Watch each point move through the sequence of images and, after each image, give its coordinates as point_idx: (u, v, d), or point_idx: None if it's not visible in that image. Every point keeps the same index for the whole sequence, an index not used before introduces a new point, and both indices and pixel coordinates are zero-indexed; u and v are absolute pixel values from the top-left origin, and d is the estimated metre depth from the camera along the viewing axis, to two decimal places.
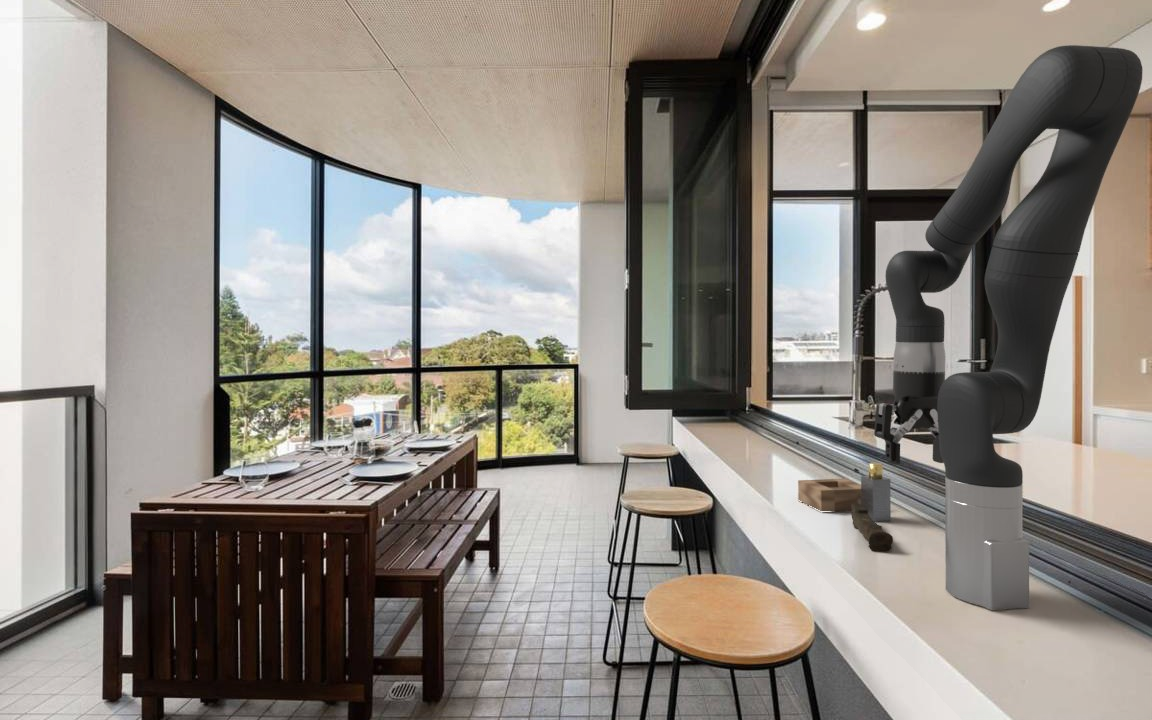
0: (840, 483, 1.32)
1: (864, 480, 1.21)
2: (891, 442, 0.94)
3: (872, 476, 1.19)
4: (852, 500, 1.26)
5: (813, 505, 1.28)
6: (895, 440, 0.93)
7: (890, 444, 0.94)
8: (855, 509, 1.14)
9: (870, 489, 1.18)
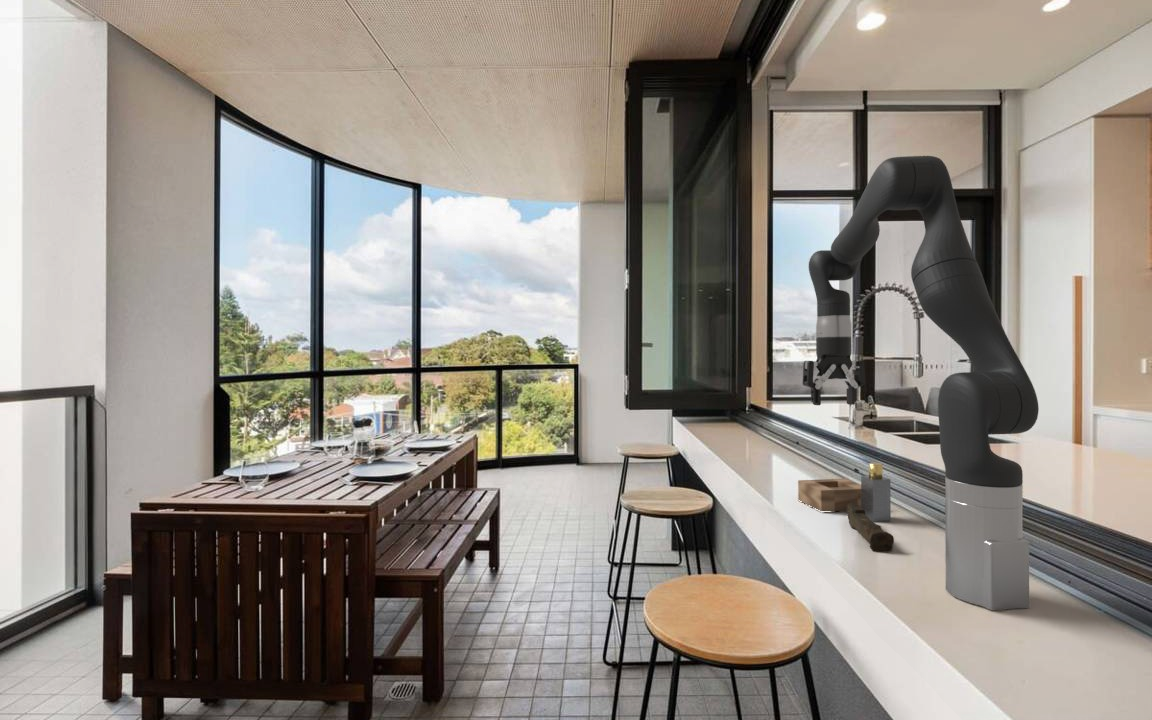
0: (840, 483, 1.32)
1: (864, 480, 1.21)
2: (814, 389, 1.28)
3: (872, 476, 1.19)
4: (852, 500, 1.26)
5: (813, 505, 1.28)
6: (816, 387, 1.28)
7: (813, 390, 1.29)
8: (852, 509, 1.14)
9: (870, 489, 1.18)
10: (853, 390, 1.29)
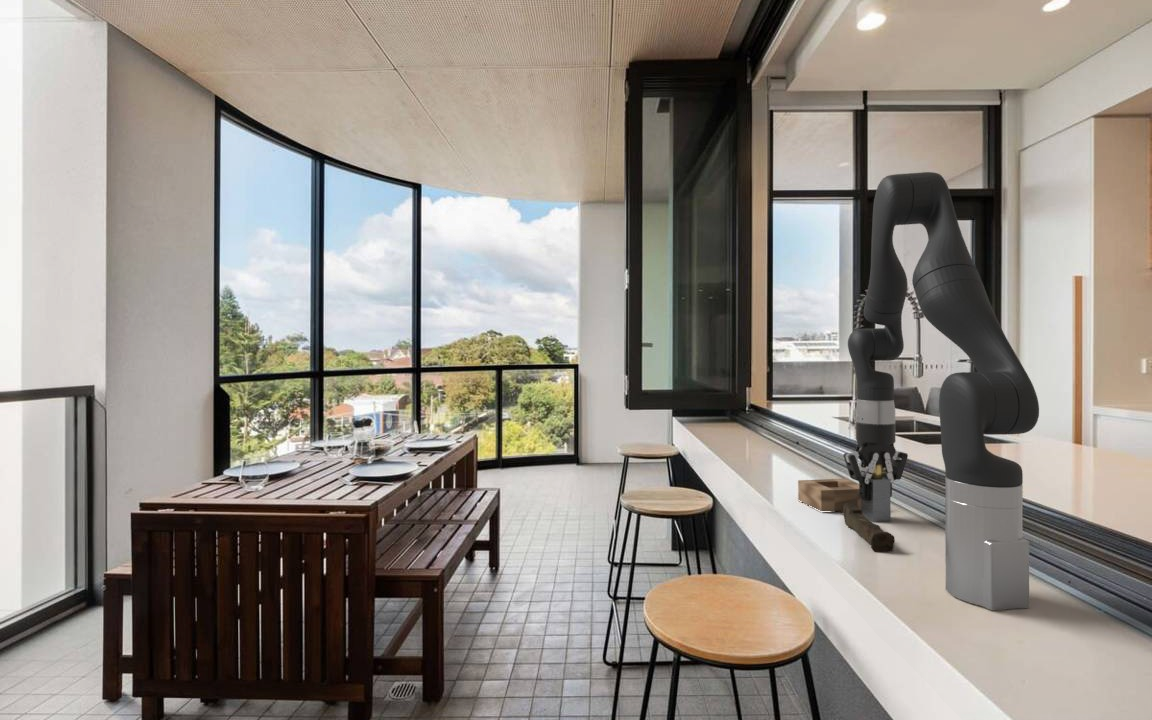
0: (840, 483, 1.32)
1: None
2: (863, 483, 1.19)
3: (872, 476, 1.19)
4: (852, 500, 1.26)
5: (813, 505, 1.28)
6: (866, 481, 1.18)
7: (862, 484, 1.19)
8: (849, 509, 1.14)
9: (870, 489, 1.18)
10: None
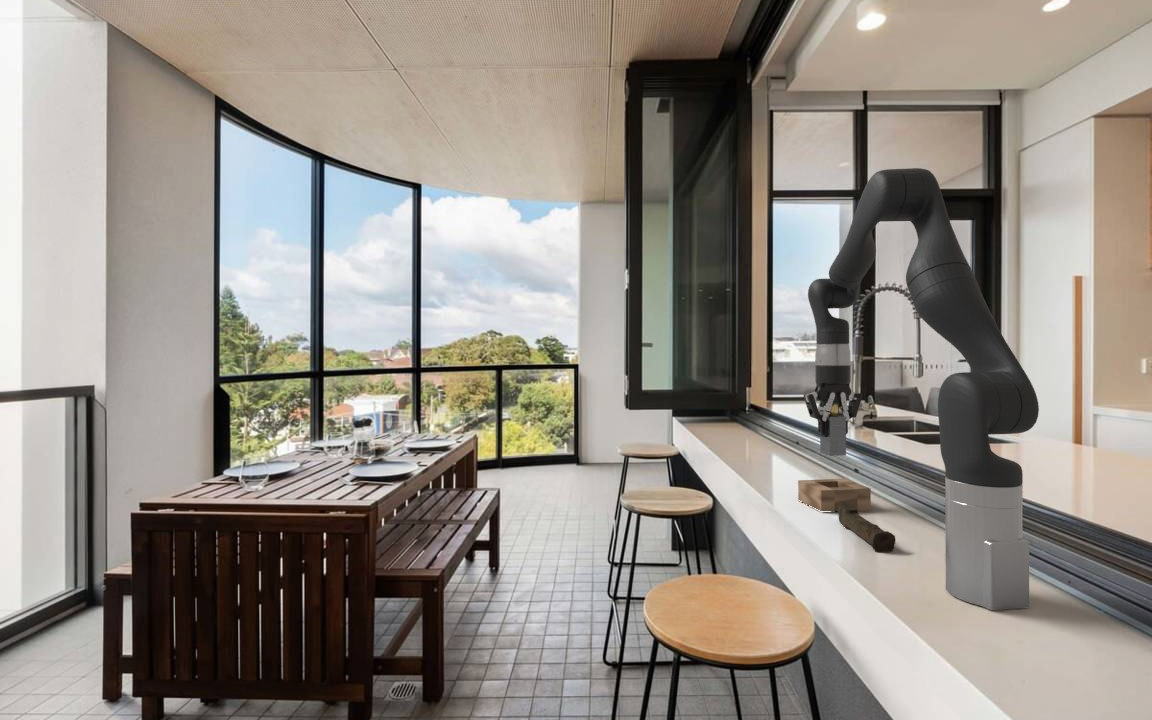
0: (840, 483, 1.32)
1: None
2: (821, 421, 1.29)
3: (829, 414, 1.29)
4: (852, 500, 1.26)
5: (813, 505, 1.28)
6: (824, 419, 1.29)
7: (821, 422, 1.29)
8: (845, 509, 1.14)
9: None
10: None
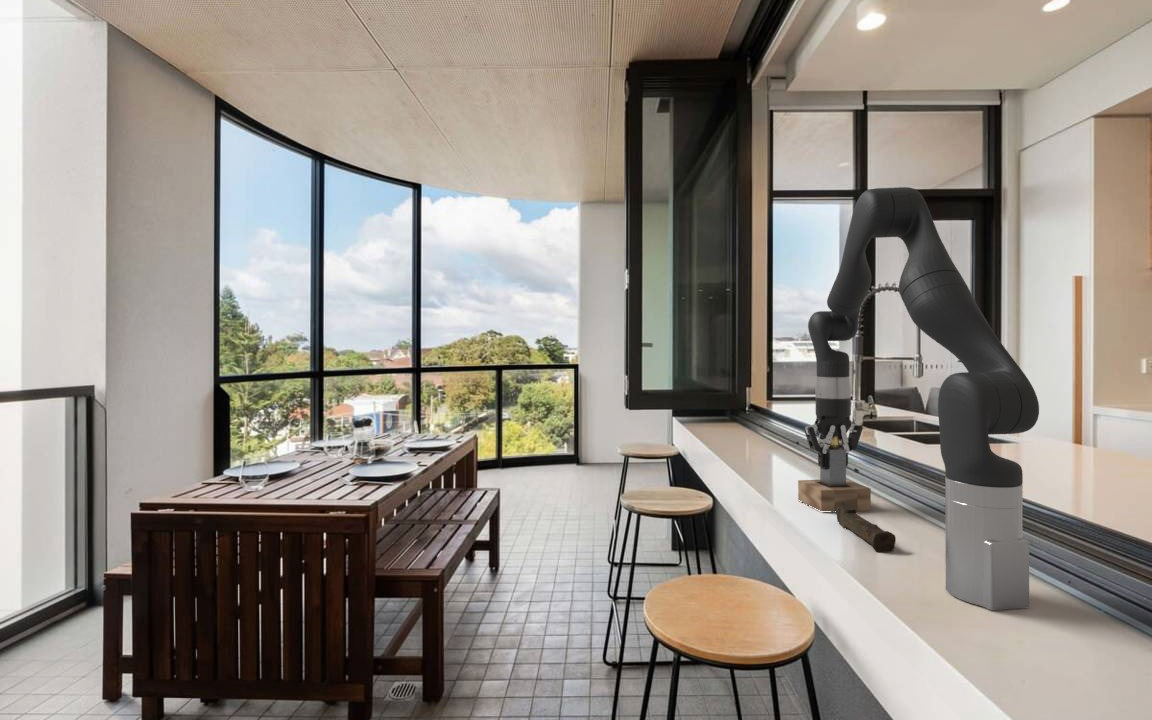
0: None
1: None
2: (821, 453, 1.29)
3: (829, 447, 1.30)
4: (852, 500, 1.26)
5: (813, 505, 1.28)
6: (824, 451, 1.29)
7: (821, 454, 1.29)
8: (844, 509, 1.14)
9: None
10: None
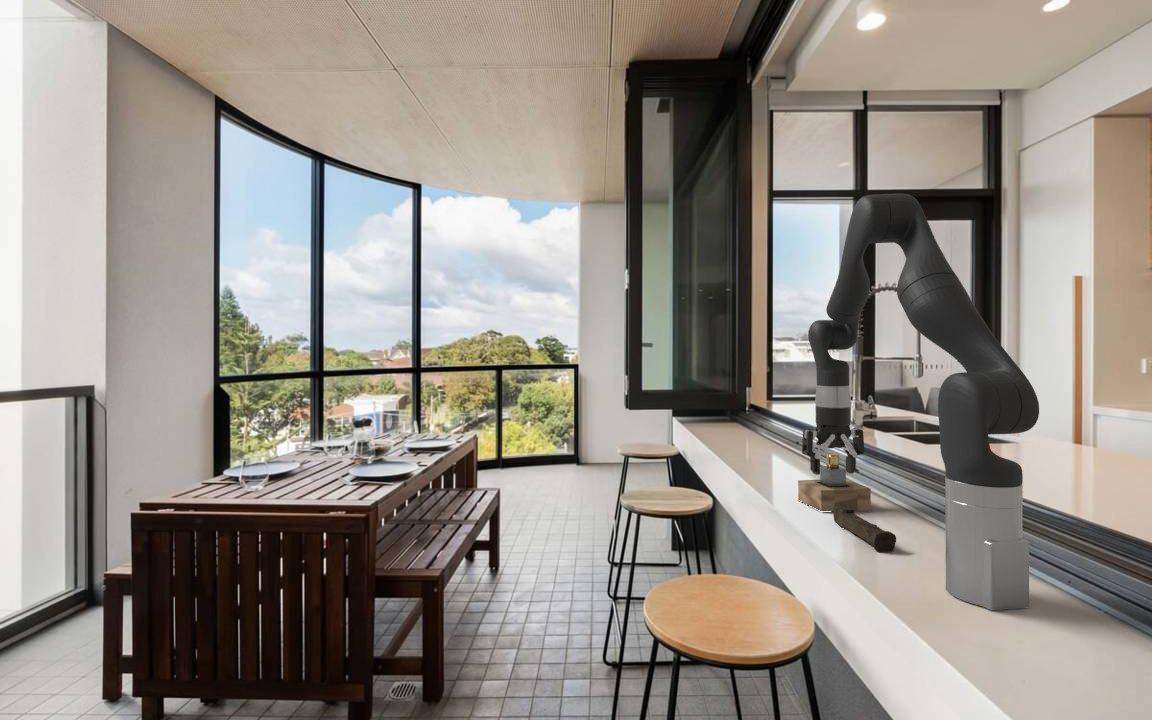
0: None
1: (822, 470, 1.31)
2: (813, 458, 1.29)
3: (829, 466, 1.30)
4: (852, 500, 1.26)
5: (813, 505, 1.28)
6: (816, 456, 1.29)
7: (813, 459, 1.29)
8: (842, 509, 1.13)
9: (827, 478, 1.29)
10: (852, 459, 1.30)
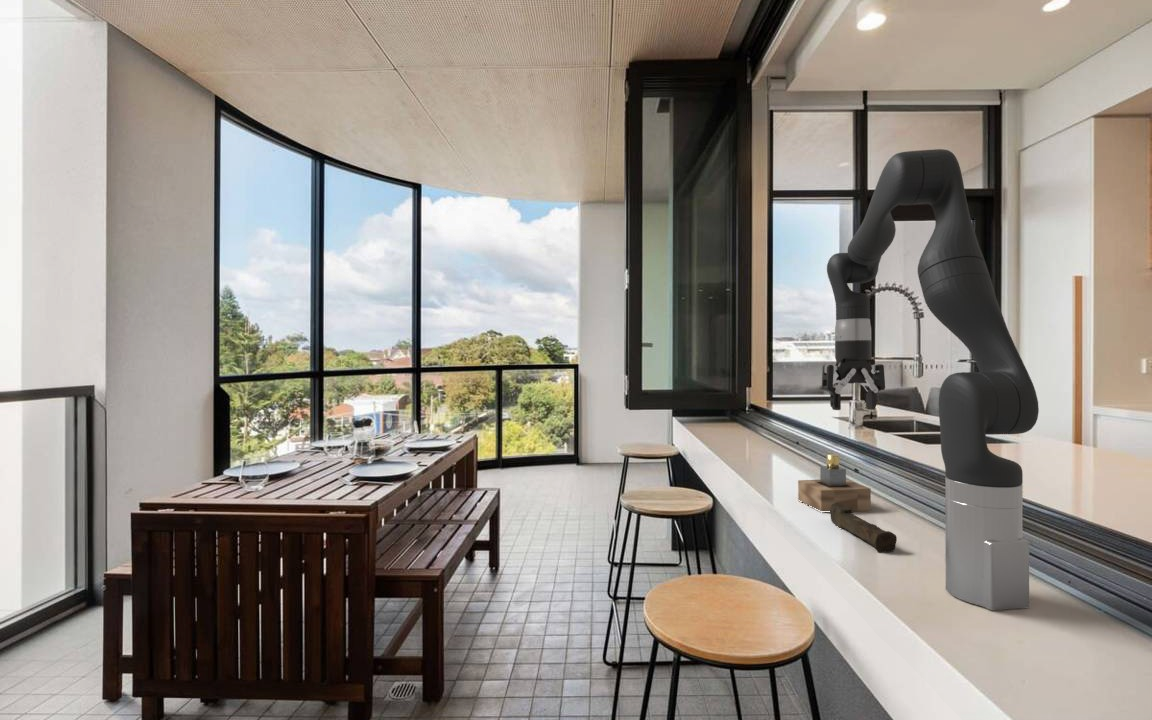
0: None
1: (822, 470, 1.31)
2: (834, 393, 1.26)
3: (829, 466, 1.30)
4: (852, 500, 1.26)
5: (813, 505, 1.28)
6: (836, 391, 1.26)
7: (833, 395, 1.26)
8: (840, 509, 1.13)
9: (827, 478, 1.29)
10: (873, 395, 1.27)
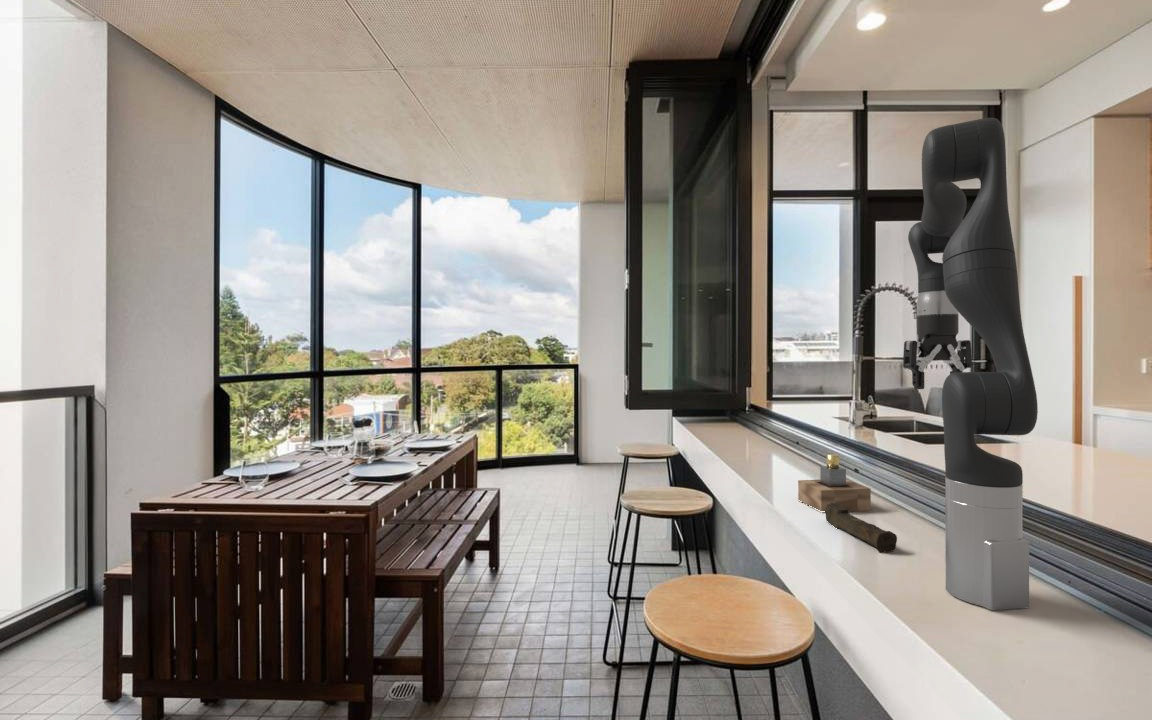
0: None
1: (822, 470, 1.31)
2: (917, 371, 1.18)
3: (829, 466, 1.30)
4: (852, 500, 1.26)
5: (813, 505, 1.28)
6: (920, 369, 1.17)
7: (916, 373, 1.18)
8: (837, 510, 1.13)
9: (827, 478, 1.29)
10: None
